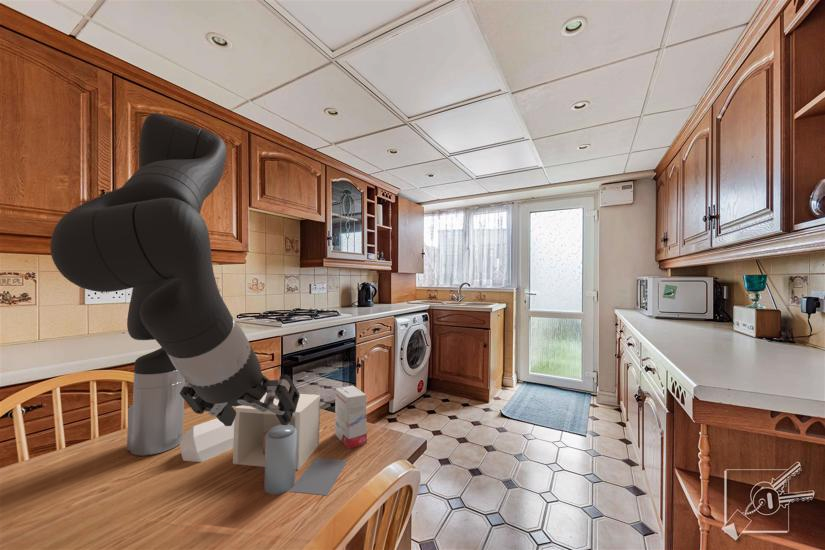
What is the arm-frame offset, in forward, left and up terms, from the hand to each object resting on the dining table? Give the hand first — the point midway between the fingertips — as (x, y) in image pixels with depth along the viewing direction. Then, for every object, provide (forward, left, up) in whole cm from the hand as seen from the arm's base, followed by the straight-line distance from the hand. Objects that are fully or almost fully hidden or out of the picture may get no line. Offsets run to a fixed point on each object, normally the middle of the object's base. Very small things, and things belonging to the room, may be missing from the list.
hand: (259, 419), depth 49 cm
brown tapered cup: (-9, +20, -16) cm, 27 cm away
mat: (+5, +14, -16) cm, 22 cm away
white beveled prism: (-21, +25, -17) cm, 36 cm away
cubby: (-7, +20, -16) cm, 27 cm away
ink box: (+6, +29, -17) cm, 34 cm away
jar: (-2, +10, -16) cm, 19 cm away
